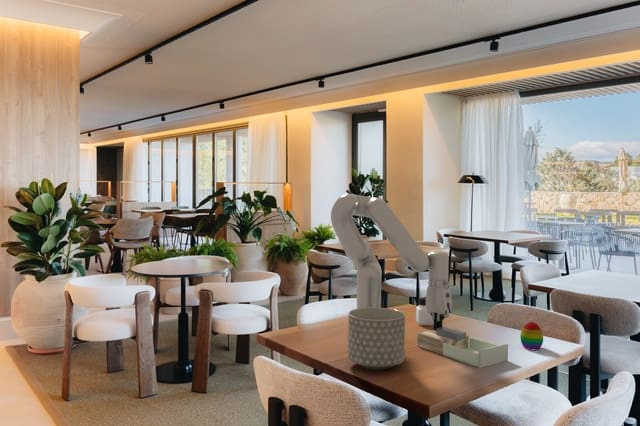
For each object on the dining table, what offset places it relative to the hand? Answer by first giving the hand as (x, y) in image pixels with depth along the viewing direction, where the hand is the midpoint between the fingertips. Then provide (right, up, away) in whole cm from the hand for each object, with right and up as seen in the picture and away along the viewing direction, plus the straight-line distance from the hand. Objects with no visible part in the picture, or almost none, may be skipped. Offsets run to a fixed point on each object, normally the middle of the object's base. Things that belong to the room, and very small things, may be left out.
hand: (437, 330), depth 200 cm
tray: (+10, -7, -15) cm, 19 cm away
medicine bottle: (+2, -5, +35) cm, 35 cm away
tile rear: (+2, -1, -3) cm, 4 cm away
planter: (-27, -7, -25) cm, 37 cm away
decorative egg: (+36, -7, -2) cm, 36 cm away
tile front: (+5, -1, -8) cm, 9 cm away
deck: (+1, -6, -2) cm, 7 cm away
